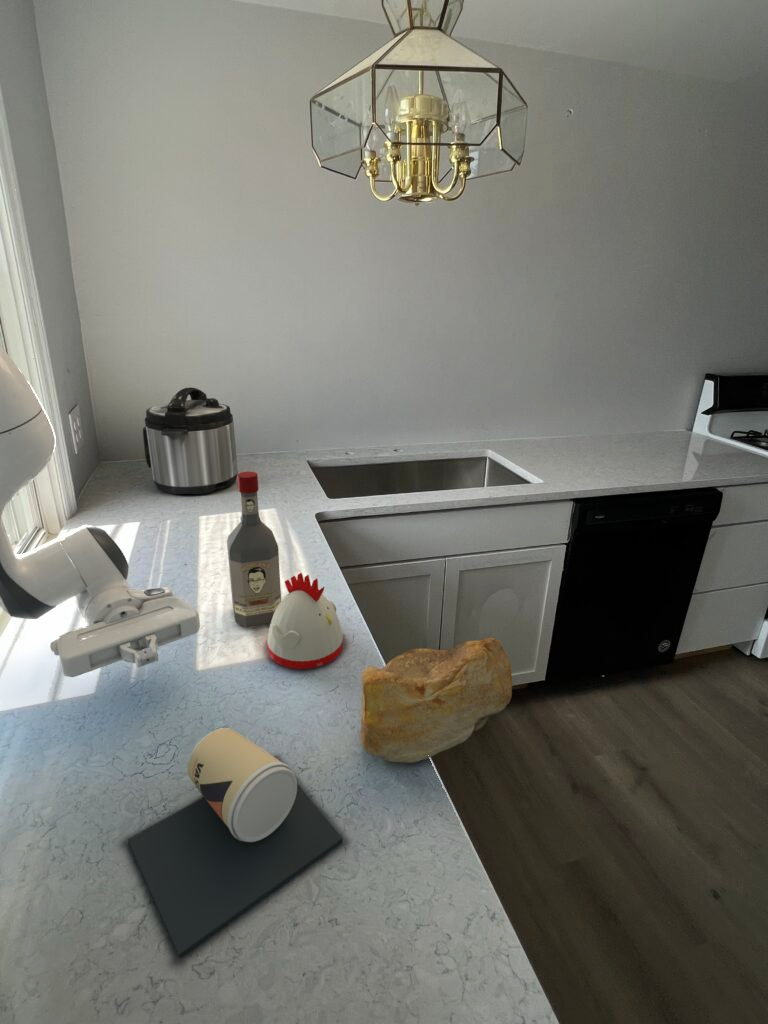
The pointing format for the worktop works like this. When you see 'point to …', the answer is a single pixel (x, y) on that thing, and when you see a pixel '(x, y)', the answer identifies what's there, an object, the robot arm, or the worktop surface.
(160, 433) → the pressure cooker
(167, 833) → the slate mat
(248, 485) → the liquor
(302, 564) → the worktop surface
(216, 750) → the coffee cup
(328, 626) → the kitchen timer
